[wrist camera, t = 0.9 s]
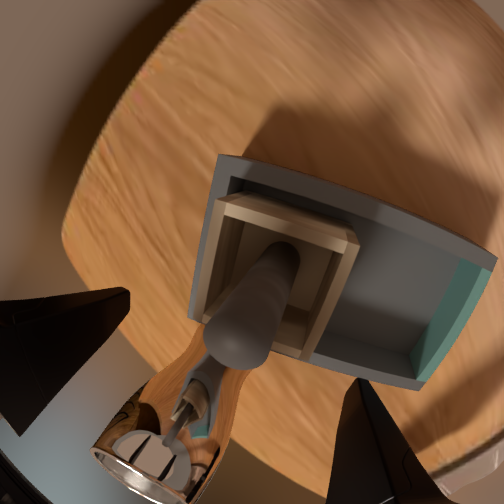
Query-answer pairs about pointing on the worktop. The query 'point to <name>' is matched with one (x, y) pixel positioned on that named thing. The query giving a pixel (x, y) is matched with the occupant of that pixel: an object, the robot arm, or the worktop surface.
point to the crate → (270, 278)
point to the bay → (374, 276)
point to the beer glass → (173, 428)
